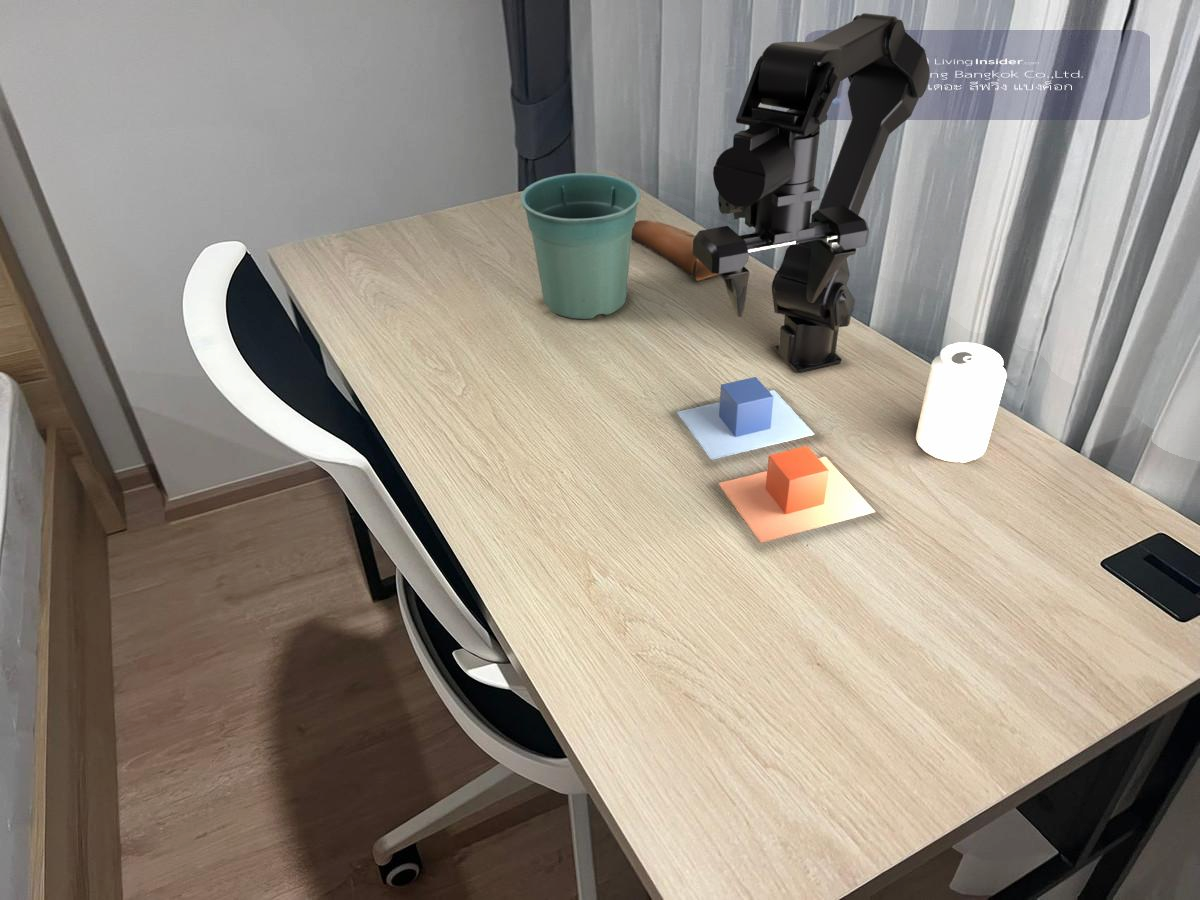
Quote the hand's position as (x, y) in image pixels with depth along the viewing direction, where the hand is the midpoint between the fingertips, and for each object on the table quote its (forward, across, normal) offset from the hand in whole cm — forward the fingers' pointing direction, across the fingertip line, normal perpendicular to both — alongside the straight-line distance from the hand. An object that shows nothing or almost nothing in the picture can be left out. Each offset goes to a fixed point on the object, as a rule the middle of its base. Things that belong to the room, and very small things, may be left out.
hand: (774, 308), depth 103 cm
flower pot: (+12, +13, -32) cm, 37 cm away
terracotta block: (+11, +6, +19) cm, 23 cm away
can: (+12, -14, +17) cm, 25 cm away
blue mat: (+12, +6, +5) cm, 14 cm away
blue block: (+11, +5, +5) cm, 14 cm away
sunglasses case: (+12, -6, -40) cm, 43 cm away
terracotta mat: (+12, +6, +19) cm, 23 cm away
